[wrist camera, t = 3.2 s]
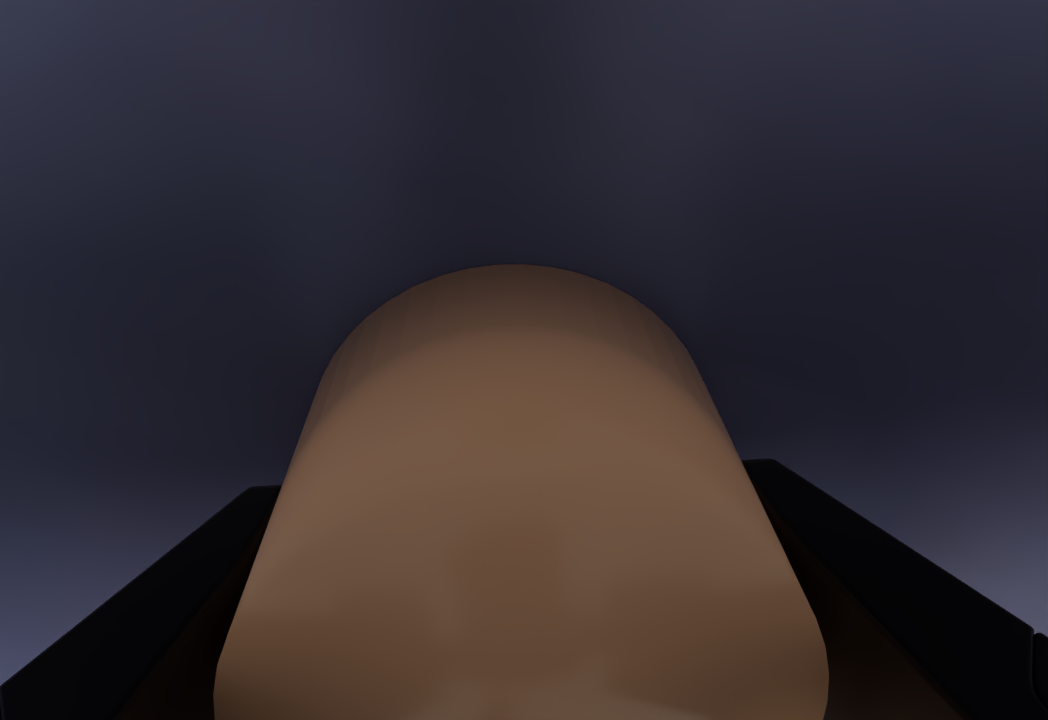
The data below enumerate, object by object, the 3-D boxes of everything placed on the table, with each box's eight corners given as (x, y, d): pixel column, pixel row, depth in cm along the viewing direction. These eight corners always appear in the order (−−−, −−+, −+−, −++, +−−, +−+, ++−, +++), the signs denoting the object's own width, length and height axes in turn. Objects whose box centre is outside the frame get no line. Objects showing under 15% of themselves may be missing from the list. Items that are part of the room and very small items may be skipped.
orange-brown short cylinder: (497, 653, 12) (502, 958, 8) (224, 441, 10) (82, 721, 7) (787, 460, 11) (939, 729, 7) (532, 172, 9) (562, 342, 5)
